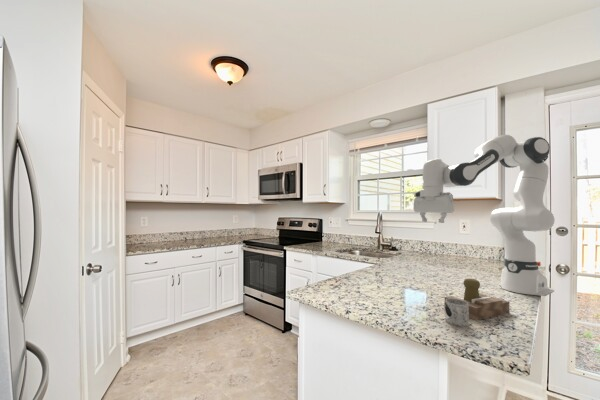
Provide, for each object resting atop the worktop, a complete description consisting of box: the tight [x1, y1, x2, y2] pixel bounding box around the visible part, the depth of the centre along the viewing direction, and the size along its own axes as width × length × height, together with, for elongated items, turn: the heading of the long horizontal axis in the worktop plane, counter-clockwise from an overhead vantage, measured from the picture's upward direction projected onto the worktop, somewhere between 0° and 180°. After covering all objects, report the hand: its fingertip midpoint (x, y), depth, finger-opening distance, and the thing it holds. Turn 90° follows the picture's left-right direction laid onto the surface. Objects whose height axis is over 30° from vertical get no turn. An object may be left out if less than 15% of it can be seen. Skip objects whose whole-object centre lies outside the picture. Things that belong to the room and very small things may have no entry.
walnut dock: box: [444, 292, 510, 321], centre depth 99 cm, size 18×12×5 cm, turn 113°
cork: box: [463, 278, 481, 302], centre depth 101 cm, size 6×6×11 cm
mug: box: [444, 299, 470, 328], centre depth 86 cm, size 10×7×7 cm, turn 157°
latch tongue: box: [472, 296, 492, 303], centre depth 97 cm, size 9×1×4 cm, turn 113°
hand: (432, 222), depth 127 cm, fingers open, 8 cm apart
